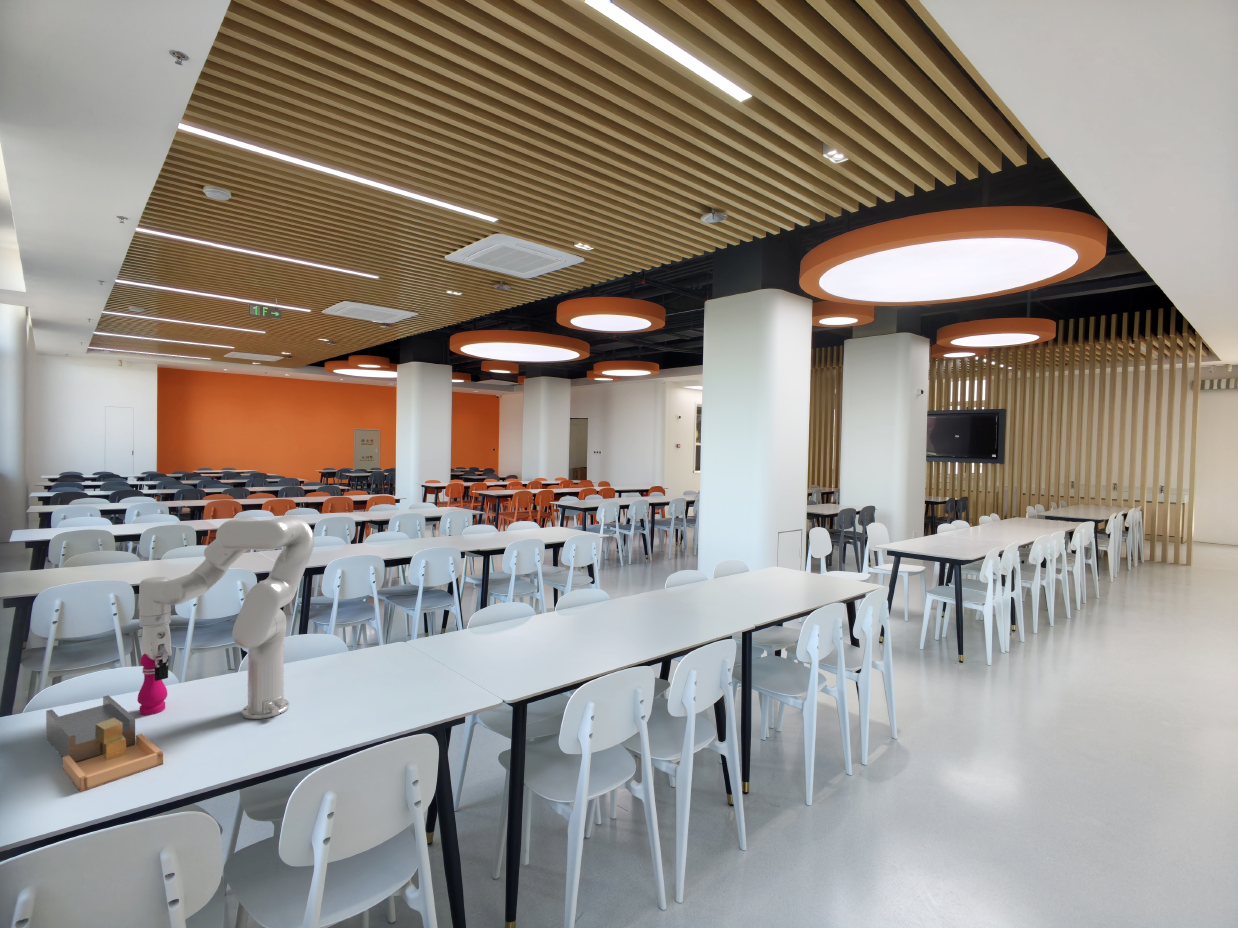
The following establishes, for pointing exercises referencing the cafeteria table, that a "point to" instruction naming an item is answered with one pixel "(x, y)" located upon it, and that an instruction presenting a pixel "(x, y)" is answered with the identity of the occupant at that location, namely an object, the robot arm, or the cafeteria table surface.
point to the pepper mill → (151, 689)
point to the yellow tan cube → (108, 730)
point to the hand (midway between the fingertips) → (155, 675)
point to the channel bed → (86, 729)
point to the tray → (113, 765)
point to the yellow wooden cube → (114, 748)
